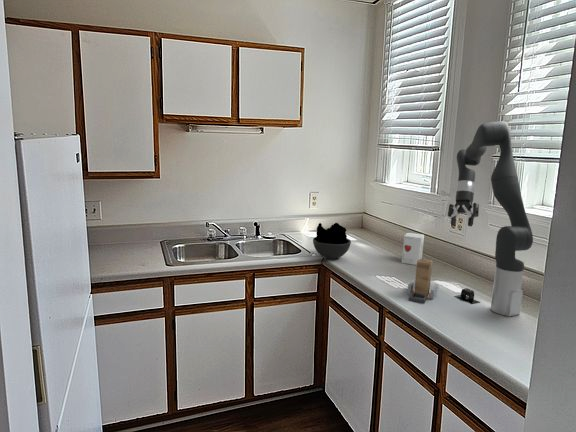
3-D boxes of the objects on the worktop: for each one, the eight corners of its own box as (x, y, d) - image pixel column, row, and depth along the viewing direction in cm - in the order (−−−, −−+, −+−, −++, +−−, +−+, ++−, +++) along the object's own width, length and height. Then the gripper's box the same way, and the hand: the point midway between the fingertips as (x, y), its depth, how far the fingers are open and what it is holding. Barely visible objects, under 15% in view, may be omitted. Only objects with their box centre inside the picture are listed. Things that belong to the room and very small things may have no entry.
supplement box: (400, 262, 222) (403, 235, 219) (404, 258, 230) (407, 232, 227) (418, 265, 218) (421, 237, 215) (421, 261, 225) (424, 234, 223)
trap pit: (412, 295, 175) (412, 292, 174) (427, 298, 172) (427, 295, 172) (408, 300, 170) (409, 296, 169) (424, 303, 167) (424, 300, 166)
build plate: (485, 304, 169) (487, 293, 169) (473, 307, 166) (474, 296, 165) (460, 294, 180) (461, 284, 179) (448, 296, 177) (449, 286, 176)
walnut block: (417, 290, 180) (420, 258, 177) (429, 292, 177) (432, 260, 175) (414, 294, 175) (417, 261, 173) (426, 296, 173) (429, 263, 170)
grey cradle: (412, 288, 184) (413, 279, 183) (437, 293, 179) (438, 284, 178) (407, 294, 176) (408, 285, 175) (433, 299, 171) (434, 290, 171)
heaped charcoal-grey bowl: (355, 257, 229) (357, 223, 226) (340, 266, 212) (342, 229, 209) (322, 251, 239) (323, 218, 236) (305, 259, 222) (307, 224, 219)
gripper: (446, 191, 200) (443, 224, 198) (474, 188, 188) (470, 224, 186) (456, 194, 204) (453, 227, 202) (484, 192, 192) (480, 227, 190)
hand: (461, 226), depth 194 cm, fingers open, 8 cm apart
